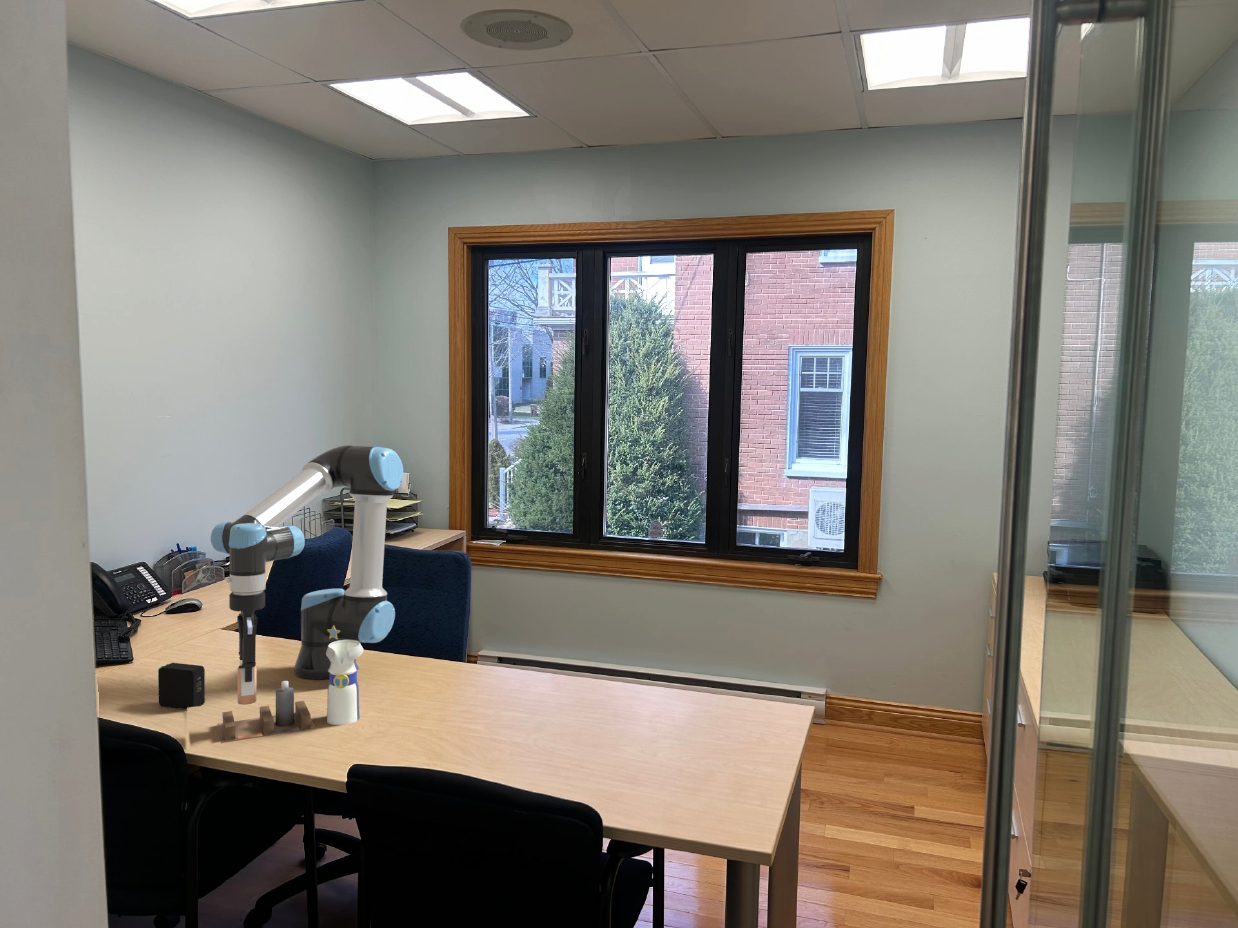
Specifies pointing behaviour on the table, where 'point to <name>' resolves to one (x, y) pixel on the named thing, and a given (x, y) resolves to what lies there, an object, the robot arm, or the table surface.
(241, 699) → the peach bottle
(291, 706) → the grey bottle
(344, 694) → the white costume bottle
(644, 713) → the table surface
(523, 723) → the table surface
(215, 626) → the table surface
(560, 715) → the table surface
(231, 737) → the rack
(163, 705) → the electronic device
